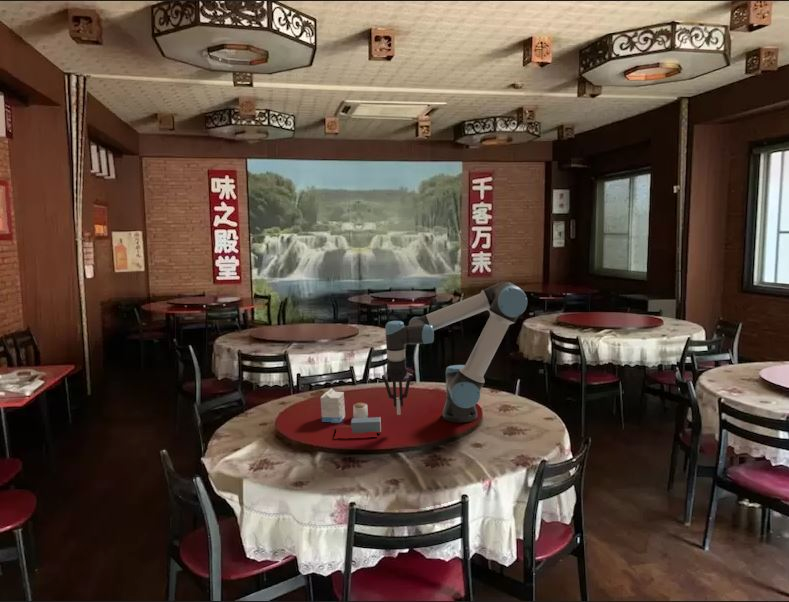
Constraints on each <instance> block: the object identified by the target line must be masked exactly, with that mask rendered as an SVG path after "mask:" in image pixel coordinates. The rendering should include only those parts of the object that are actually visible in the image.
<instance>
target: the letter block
mask: <svg viewBox="0 0 789 602" xmlns="http://www.w3.org/2000/svg"><path fill="white" fill-rule="evenodd" d="M350 421H351V422H350V426H351V428H352V433H365V432H381V433H382V423H381V421H382V420H381V416H378V417H377V416H375V417H373V416H371V417H368V418H354V417H353V418H351V420H350Z"/></svg>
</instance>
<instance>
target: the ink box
mask: <svg viewBox="0 0 789 602" xmlns="http://www.w3.org/2000/svg"><path fill="white" fill-rule="evenodd" d="M344 395H345V392H344V391H335V390H334V389H333V388H332V387H331V388H330V389H329V390H328V391H326V392H324V393H323V394H322V395H321V396H320V410H321V422H331V423H330V424H341V423H340V422H342V421H343V420H344V419H345V418H346V410H345V409H346V407H345V396H344Z"/></svg>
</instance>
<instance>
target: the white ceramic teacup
mask: <svg viewBox="0 0 789 602" xmlns="http://www.w3.org/2000/svg"><path fill="white" fill-rule="evenodd" d="M368 407H369V406H368V404H367V403H365V402H356V403H355V404H353V406H352V410H353V411H352V412H353V414H352V416H353V418H369V412H368V411H369V410H368Z"/></svg>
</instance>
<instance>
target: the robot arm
mask: <svg viewBox="0 0 789 602" xmlns="http://www.w3.org/2000/svg"><path fill="white" fill-rule="evenodd" d="M527 306H528V297H527V294H526V293H525V292H524V290H523V289H522V288H521V287H519V286H517V285H516V284H514V283H513V282H509V281H501V282H499V283H496V284H494V285H491V286H489V287H487V288H483V289H482V290H481V291H480V293H478V294H475V295H472V296H470V297H467V298H465V299H463V300H460V301H457V302H455V303H453V304H450V305H448V306H445V307H443V308H439V309H438V310H435V311H432V312H430V313H428V314H425V315H421V316H414V317H412V318H411V319H410V320H409V321H408V325H405V324H404V323H405V322H403V321H402V320H391V321H388V322H386V324H385V342H386V343H385V345H386V358H387V361H386V363H387V370H386V373H385V374H382V375H381V380H382V381H383V382H384V385H385V388H386V391H387V394H388V398H389V399H393V406H394V407H396V416H399V415H400V416H401V414H402V411H401V407H403V406H404V399H405V398H407V396H408V394H409V388H410V383H411V380H412V379H413V374H412V373H409V372H408V370H407V367H406V363H407V362H406V345H423V344H424V345H427V344H433V343H434V340H435V333H434V332H435V331H436V330H438V329H441V328H445V327H446V326H449V325H451V324H453V323H456V322H460V321H462V320H465V319H468V318H470V317H472V316H475V315H478V314H481V313H482V312H485V311H488V312H489V318H488V319H487V320H486V324H485V325H484V327H483V328H482V331H481V333H480V336H479V337H478V339H477V341H476V343H475V345H474V347H473V349H472V350H471V353H470V355H469V357H468V359H467V361H466V363H465V364H454V365H449V366H447V367H446V369H445V387H446V389H445V390H446V391H445V394H446V400H445V403H444V407H443V410H442V418H443V420H446V421H448V422H451V423H459V424H461V423H462V422H464V423H469V422H473V421H475V420H476V419H477V418H478V411H477V407H476V405H477V404H478V403H479V401H480V399H481V390H482V388H483V386H484V384H485V382H486V381H485V377H484V376H485V374H486V372H487V370H488V368H489V366H490V364H491V362H492V360H493V358H494V356H495V354H496V352H497V350H498V348H499V347H500V344H501V343H502V340H503V339H504V337H505V335H506V332H507V331H508V329H509V327H510V325H513V324H515V323H516V322H517V319H518V318H519V316H520V315H522V314H523V313H524V312H525V311H526V310H527ZM388 377H389V379H390V380H391V381H392V391H391V386H390V384H389V380H388ZM405 377H406V382H405V387H404V393H403V381H404V379H405ZM396 382H398V385H399V386H398V387H399V388H398V390H399V397H397V383H396ZM392 392H393V393H392Z"/></svg>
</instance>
